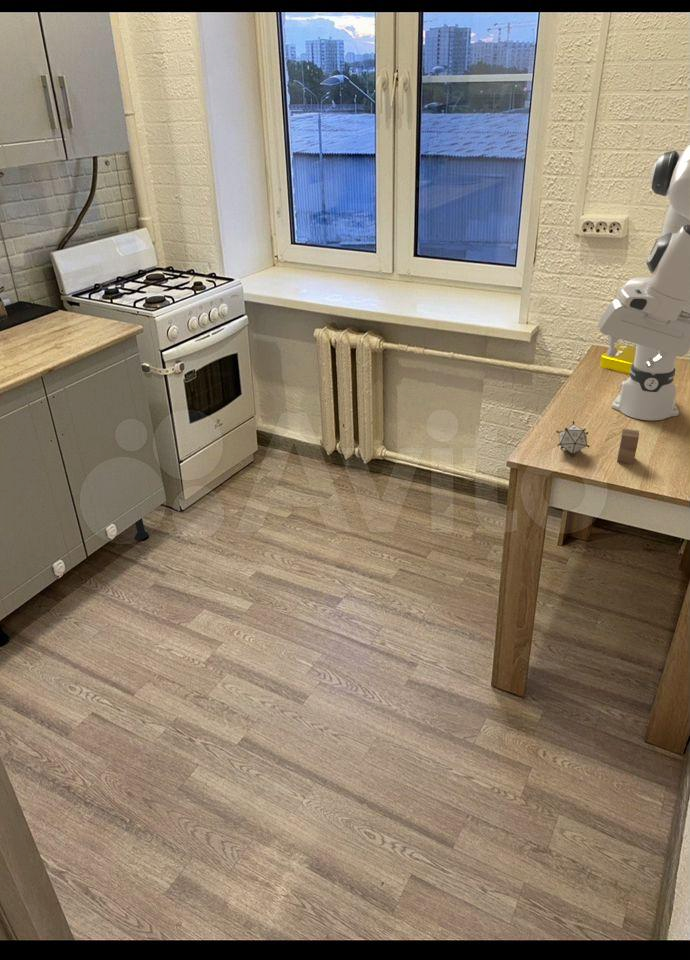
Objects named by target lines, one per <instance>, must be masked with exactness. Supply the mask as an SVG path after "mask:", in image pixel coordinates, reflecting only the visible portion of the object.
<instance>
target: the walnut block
mask: <svg viewBox="0 0 690 960" xmlns="http://www.w3.org/2000/svg"><path fill="white" fill-rule="evenodd" d="M621 432H622V433H621V439H620V441H619V442H620V443H619V447H618V448H619V449H618V451H617V452H618V453H617V461H616V462H617V463H620V462H621V464H628V465H634V463H635V457H636V452H637V448H638V443H639V438H640V430H637V429H630V428H622V431H621Z"/></svg>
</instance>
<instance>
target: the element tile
mask: <svg viewBox="0 0 690 960" xmlns="http://www.w3.org/2000/svg"><path fill="white" fill-rule="evenodd" d="M614 347H615V348H616V349H617V351H618V352H617V354H615V357H611V356H608V355H607V351H606V352H604V353H602V354H601V356H600V359H599V367H600V368H603V369H606V370H611V371H614V372H618V373H623V374H626V375H630V369H631V367H632V364H633V363H634V359H635V353H636V347H633V346H627V345H625V344H624V345H623V344H617V345H615V346H614Z"/></svg>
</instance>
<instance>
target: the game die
mask: <svg viewBox="0 0 690 960" xmlns="http://www.w3.org/2000/svg"><path fill="white" fill-rule="evenodd" d="M586 430H587V429H586V428H584V429H583V428H581V427H579V426H578V425H576V424H575V421H574V420H573V421H572V424H570V425H569V426H567V427H565V428H564V429H562V430H560V431H559V430H556V433H558V437H559V438H558V441H559V443H557V446H558V447H559V446H560V449H561V450H563V449H564V450H566V452H568V453H569V454H571V456H570V457H571V458H573V457H574V454H575V453H578V452H579V451H581V450H582V449H584V448H586V447H587V448H591V446H590V445H589V444H588V440H587V439H588V438H587V435H589V432H588V431H587V432H586Z"/></svg>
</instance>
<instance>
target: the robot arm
mask: <svg viewBox="0 0 690 960" xmlns="http://www.w3.org/2000/svg"><path fill="white" fill-rule="evenodd" d="M650 185H651V189H652V191H653V192H654V194H656V195H659V196H663V197H666V196H668V199H669V202H670V204H669V206H668V208H667V212H666V214H665V218H664V223H663V227H662V231H661V233H660V237H657V239H656V240H655V243H654V245H653V247H652V249H651V251H650V252H649V254H648V256H647V258H646V260H645V263H646V265H647V266H646V267H647V268H648V270H649V272H650V273H651V274H653V277H648V276H647V277H646V276H645V277H633V278H632V277H631V278H630V279H628V281H626V282H625V283H624V284H623V285H622V286H621V288H620V290H619V291H618V293H617V296H618V298H616V299H614V300H612V301H611V302H610V304H608V306H607V307H606V309H605V311H604V312H603V314H602V315H601V317H600V319H599V321H598V322H597V323H598V324H597V325H598V329H599V332H601V334H602V335H606V336H608V343H609V344H608V345H609V347H608V349H607V351H606V352H607V355H608V356H611V357H615V354H617V352H618V351H617V349H616V348H615V347H616V346H615V343H616V344H617V343H618V342H619V340H622V341H626V342H629V343H631V344H636V345H635V346H636V347H635V348H636V353H635V359H634V363H633V364H632V367H631V369H630V374H629V377H628V378H627V379H626V380H622V382H621V385H620V388H621V391H620V392H619V394H618V395H617V396H616V398H615V399H614V400H613V401H612V404H611V408H612V409H615V410H617V411H619V412H620V413H622V414H624V415H625V416H628V417H631V418H632V419H637V420H643V421H661V420H666V419H668V418H671V417H677V416H679V413H680V411H679V410H678V407H677V405H676V403H675V401H676V396H677V390H678V389H677V387H676V385H674V383H673V382H674V379H675V376H676V368H675V366H676V361H677V357H678V358H682V357H684V356H685V355H687V354H688V352H689V350H690V144H688V145H687V146H686V148H684V150H683V151H677V150H670V151H666V152H663V153H662V154H660V155H659V156H658V158H657V160H656V161H655V162H654V165H652V168H651V172H650Z"/></svg>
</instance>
